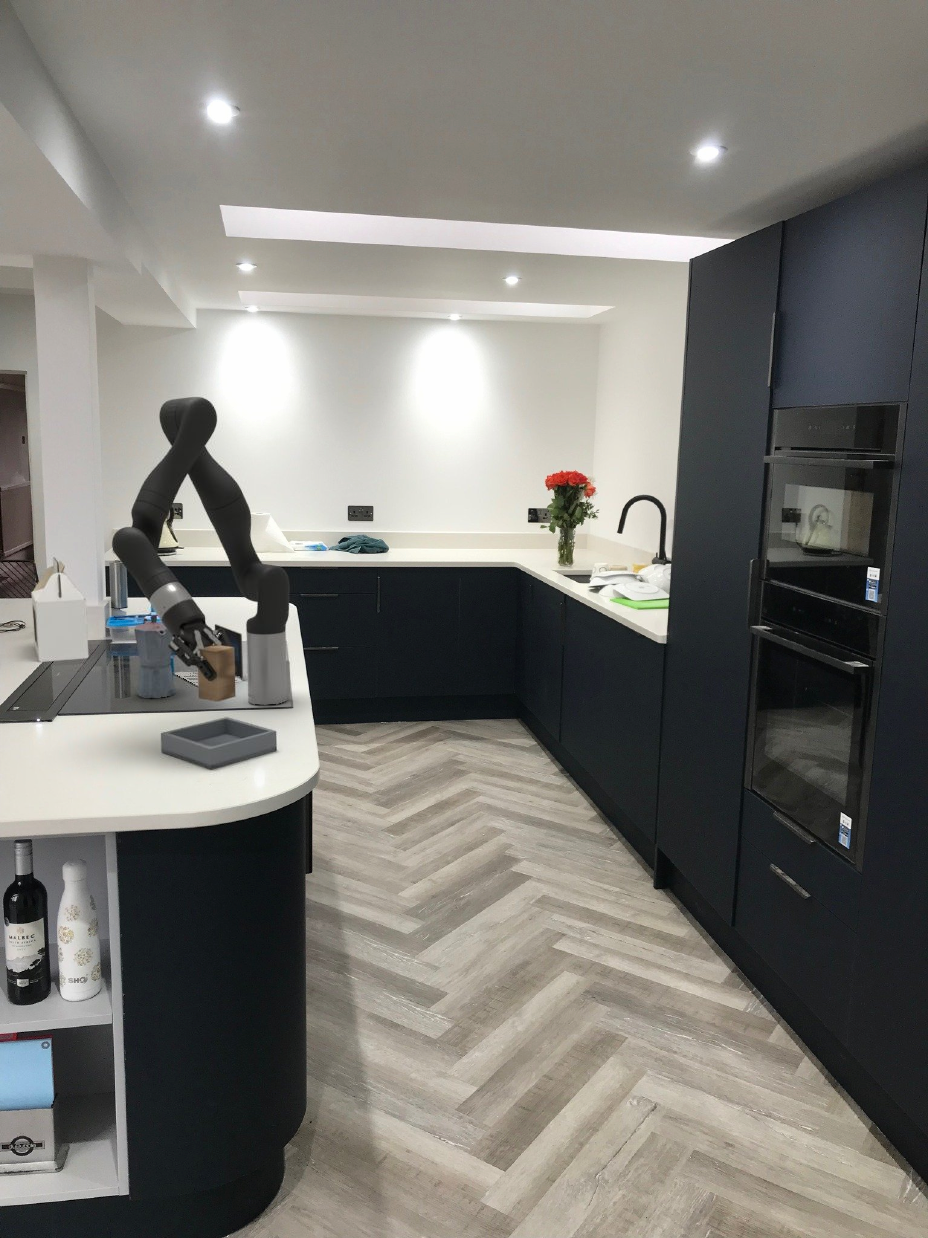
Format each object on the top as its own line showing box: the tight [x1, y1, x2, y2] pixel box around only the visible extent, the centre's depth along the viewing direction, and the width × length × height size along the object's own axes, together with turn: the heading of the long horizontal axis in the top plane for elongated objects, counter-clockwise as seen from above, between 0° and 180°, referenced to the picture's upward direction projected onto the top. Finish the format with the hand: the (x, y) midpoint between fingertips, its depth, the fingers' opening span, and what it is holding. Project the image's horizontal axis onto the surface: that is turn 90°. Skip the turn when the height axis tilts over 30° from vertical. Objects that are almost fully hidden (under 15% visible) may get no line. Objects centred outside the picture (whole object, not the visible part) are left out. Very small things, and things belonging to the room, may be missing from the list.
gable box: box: [30, 557, 89, 663], centre depth 279 cm, size 22×13×28 cm, turn 27°
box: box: [160, 716, 278, 770], centre depth 189 cm, size 16×16×4 cm
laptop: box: [174, 623, 244, 686], centre depth 252 cm, size 18×12×13 cm
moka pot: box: [133, 615, 176, 699], centre depth 233 cm, size 10×15×20 cm, turn 40°
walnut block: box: [197, 644, 237, 703], centre depth 187 cm, size 5×5×10 cm
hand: (223, 675), depth 186 cm, fingers closed on walnut block, 5 cm apart
